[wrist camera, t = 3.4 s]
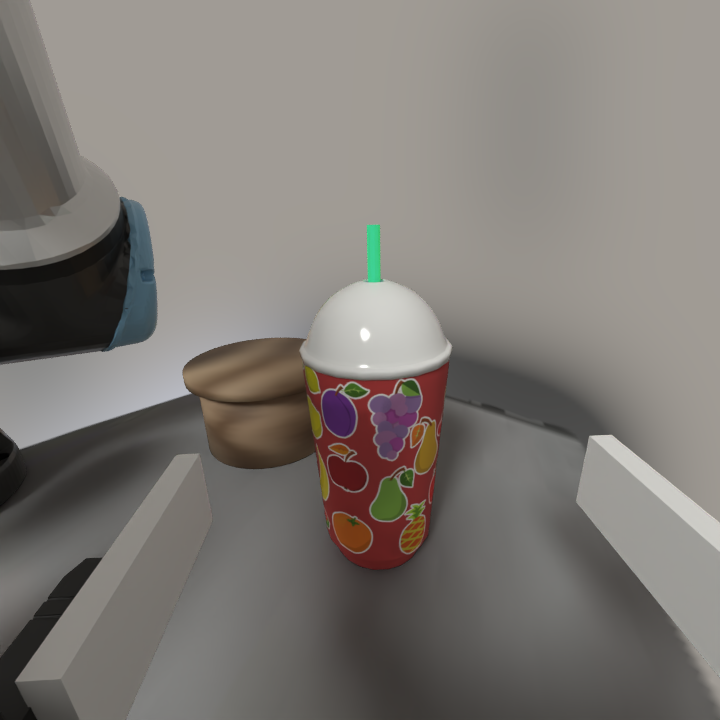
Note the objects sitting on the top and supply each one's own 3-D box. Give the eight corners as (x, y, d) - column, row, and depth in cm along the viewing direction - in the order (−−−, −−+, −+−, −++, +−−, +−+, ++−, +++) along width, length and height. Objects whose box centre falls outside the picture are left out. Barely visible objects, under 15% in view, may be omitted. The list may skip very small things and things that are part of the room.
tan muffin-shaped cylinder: (164, 461, 35) (145, 380, 32) (250, 396, 48) (241, 334, 45) (304, 488, 31) (295, 399, 28) (358, 409, 43) (355, 342, 41)
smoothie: (408, 484, 31) (412, 222, 24) (465, 567, 24) (496, 222, 17) (305, 509, 29) (278, 226, 22) (334, 610, 21) (306, 229, 14)
